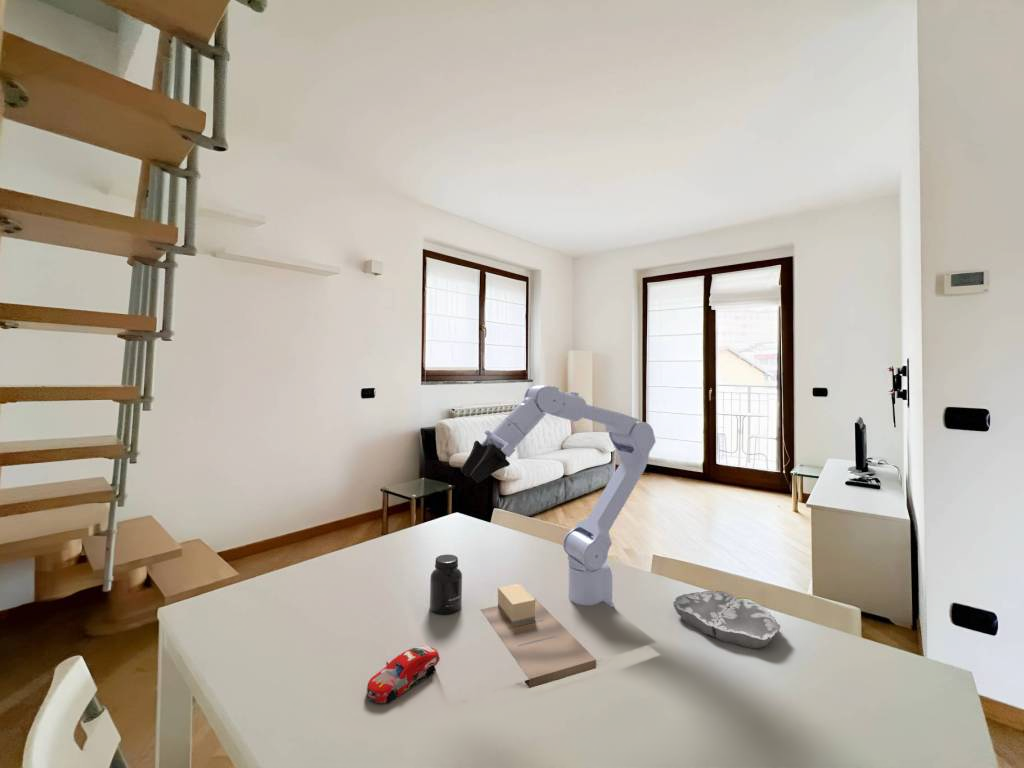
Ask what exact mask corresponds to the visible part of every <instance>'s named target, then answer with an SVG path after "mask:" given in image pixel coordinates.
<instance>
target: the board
mask: <svg viewBox="0 0 1024 768" xmlns="http://www.w3.org/2000/svg"><path fill="white" fill-rule="evenodd" d="M533 598H534V597H533ZM534 599H535V619H534V620H530V621H525V622H521V623H517V624H512V623H511V622H510V620H509V619H508V618H507V617H506V615H505V614H504V613H503V612H502V610H501V609H500V608H499V607H498V605H495V606H492V607H491V606H490V607H486V608H483V609H482V608H481V609H480V612H482V614H483V616H484V617H485V618H486V620H487V621H488V622H489V624H490V625H491V627H492V628H493V630H494V631H495V632H496V634H497V635H498V637H499V638H500V640H501V641H502V643H503V644H504V645H505V647H506V648H507V650H508V651H509V653H510V654H511V655H512V657H513V658H514V660H515V662H517V664H518V665H519V667H520V669H522V671H523V673H524V674H525V675H526V676H527V678H528V679H526V680H524V683H525V684H526V685H527V687H528V688H529V689H531V688H535V687H537V686H541V685H545V684H548V683H552V682H555V681H558V680H562V679H566V678H569V677H571V676H574V675H577V674H578V675H579V674H581V673H585V672H587V671H591V670H594V669H597V659H596V657H595V656H593V655H592V653H591V652H589V651H588V650H587V649H586V648H585V647H584V646H583V645H582V644H581V642H579V641H578V640H577V638H576V637H574V636H573V634H572V633H570V631H568V630H567V628H565V626H564V625H562V624H561V623H560V622H559V620H557V619H556V617H554V615H553V614H552V613H550V612H549V611H548V609H547V608H546V607H545V606H544V605H542V603H540V601H538V599H537V598H536V597H535V598H534Z"/></svg>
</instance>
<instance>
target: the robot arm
mask: <svg viewBox="0 0 1024 768" xmlns="http://www.w3.org/2000/svg"><path fill="white" fill-rule="evenodd" d="M546 414H547V415H548V414H549V415H550V416H554V417H557V418H562V419H564V420H569V421H572V422H578V421H580V420H582V419H585V420H586V419H587V420H589V421H592V422H594V423H599V424H602V425H605V432H608V435H609V436H608V437H609V439H610V442H611V443H612V445H613V447H614V449H615V451H616V452H617V454H618V456H619V460H620V463H619V465H618V467H617V468H616V470H615V471H614V473H613V474H612V476H611V478H610V479H609V481H608V482H607V485H606V486H605V488H604V490H603V492H602V493H601V495H600V497H599V498H598V500H597V501H596V503H595V504H594V507H593V508H592V510H591V511H590V513H589V514H588V517H587V518H583V520H580V521H578V522H577V523H576V524H575V526H574V527H573V528H572V529H570V531H568V532H567V533H566V534H565V536H564V538H563V542H562V547H563V550H564V552H565V554H567V559H568V592H567V593H568V596H567V597H568V599H569V600H570V602H572V603H574V604H576V605H581V606H594V605H597V604H599V603H601V602H604V603H605V604H606V605H608V606H609V607H610V608H614V607H615V604H614V602H613V573H612V569H611V567H610V566H609V564H608V563H607V559H608V554H609V550H610V548H611V546H612V539H611V536H610V532H609V531H610V530H611V528H612V527H613V525H614V523H615V522H616V520H617V518H618V516H619V515H620V513H621V512H622V509H623V507H624V506H625V505H626V502H627V501H628V499H629V497H630V495H632V492H633V490H634V488H635V487H636V486H637V484H638V481H639V480H640V478H641V476H642V475H643V474H644V472H645V469H646V467H647V464H648V459H649V456H650V452H651V450H652V449H653V447H654V445H655V444H656V437H655V434H654V429H653V427H652V426H651V425H650V424H649V423H648V422H645V421H641V422H640V419H638V418H636V417H633V416H630V415H628V414H625V413H621V412H617V411H614V410H610V409H605V408H602V407H599V406H598V407H597V406H593V405H590V404H587V402H586V399H585V398H584V397H583V396H580V394H579V392H576V391H571V392H566V391H563V390H560V387H557V386H550V385H535V386H532V387H531V388H527V389H526V391H525V392H524V398H523V400H522V401H521V402H520V403H519V404H518V405H517V406H516V407H515V408H514V409H513V410H512V411H510V413H509V414H508V415H507V416H506V417H505V418H504V419H503V420H502V421H501V422H500V424H499V425H497V426H496V427H495V428H494V429H493V431H492V432H491V431H490V430H488V429H486V430H485V431H484V434H485V436H486V438H485V439H484V440H483V441H482V442H480V441H479V440H475V441H474V443H473V447H472V449H471V452H470V454H469V456H468V457H467V459H466V460H465V461H464V463H463V465H462V466H461V468H460V472H462V474H464V475H465V476H466V477H467V478H469V477H471V478H472V479H473V480H474V481H475V482H476V483H478V484H479V483H481V482H482V481H484V480H485V479H486V478H488V477H490V475H492V474H494V473H496V472H497V471H499V470H501V469H504V468H506V467H509V466H510V465H511V463H510V462H509V460H508V459H507V458H510V456H512V455H513V454H514V453H515V452H516V447H518V445H519V444H521V443H522V441H523V440H524V439H525V438H526V437H527V435H529V433H530V432H531V431H532V430H533V429H534V428H535V427H536V426H537V425H538V424H539V422H540V421H541V420H542V419H543V418H544V417H545V416H546Z"/></svg>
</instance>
